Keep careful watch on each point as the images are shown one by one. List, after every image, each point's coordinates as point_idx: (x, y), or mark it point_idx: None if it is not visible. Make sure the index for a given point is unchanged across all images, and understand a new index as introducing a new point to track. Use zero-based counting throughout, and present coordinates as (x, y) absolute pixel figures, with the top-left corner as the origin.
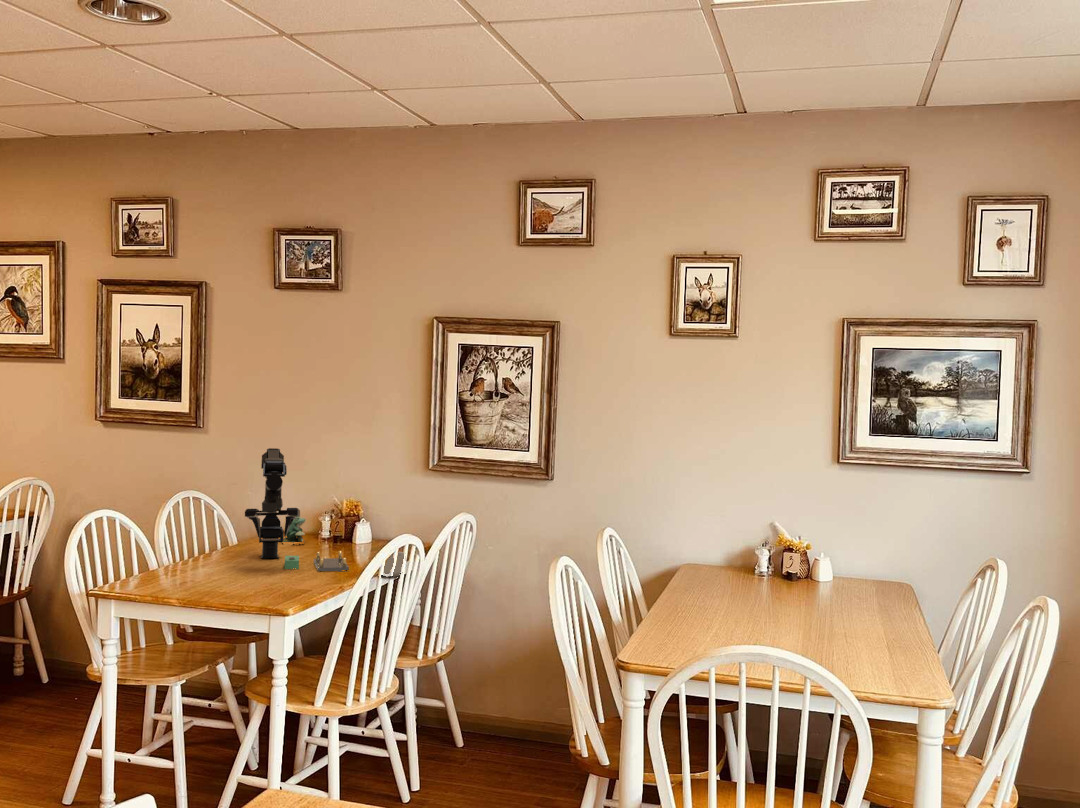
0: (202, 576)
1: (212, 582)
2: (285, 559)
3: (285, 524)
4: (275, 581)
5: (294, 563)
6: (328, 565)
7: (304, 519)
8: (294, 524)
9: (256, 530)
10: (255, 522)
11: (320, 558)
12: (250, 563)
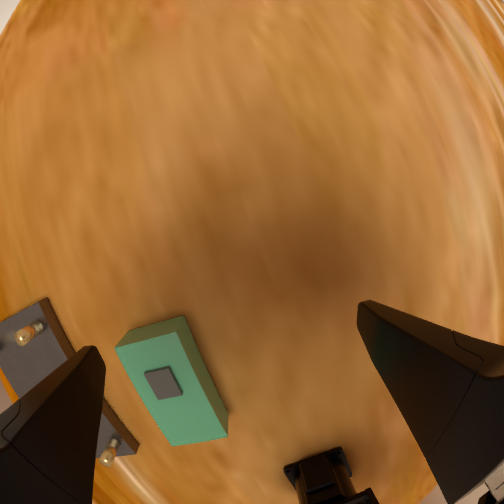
0: (442, 106)
1: (368, 20)
2: (187, 364)
3: (25, 421)
4: (142, 69)
5: (135, 337)
6: (32, 352)
7: None
8: None
9: (423, 319)
10: (501, 362)
11: (22, 338)
12: (365, 383)
